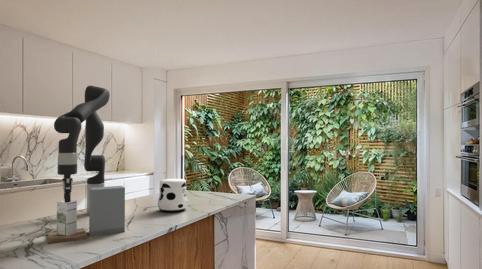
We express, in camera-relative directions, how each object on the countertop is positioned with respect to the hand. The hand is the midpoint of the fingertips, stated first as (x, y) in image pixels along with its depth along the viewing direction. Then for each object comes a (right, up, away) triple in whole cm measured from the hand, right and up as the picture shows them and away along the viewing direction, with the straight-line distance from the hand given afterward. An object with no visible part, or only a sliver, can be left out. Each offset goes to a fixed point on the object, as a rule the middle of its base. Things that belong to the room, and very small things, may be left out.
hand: (67, 200), depth 142 cm
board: (0, -16, 0) cm, 16 cm away
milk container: (+35, -17, +54) cm, 66 cm away
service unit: (+14, -16, +8) cm, 22 cm away
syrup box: (0, -15, 0) cm, 15 cm away
